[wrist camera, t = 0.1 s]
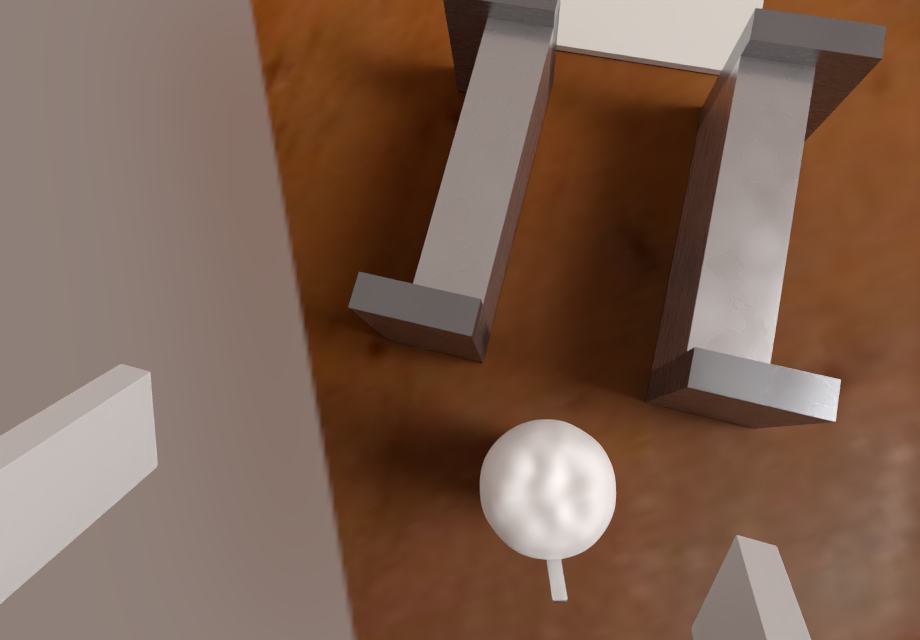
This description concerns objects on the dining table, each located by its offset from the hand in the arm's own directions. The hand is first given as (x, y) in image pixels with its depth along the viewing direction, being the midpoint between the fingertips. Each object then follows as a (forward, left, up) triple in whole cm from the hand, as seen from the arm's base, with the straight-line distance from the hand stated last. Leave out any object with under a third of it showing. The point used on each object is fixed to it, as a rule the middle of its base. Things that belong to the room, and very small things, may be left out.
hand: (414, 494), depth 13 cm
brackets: (+13, -3, -15) cm, 20 cm away
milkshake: (0, -3, -16) cm, 16 cm away
